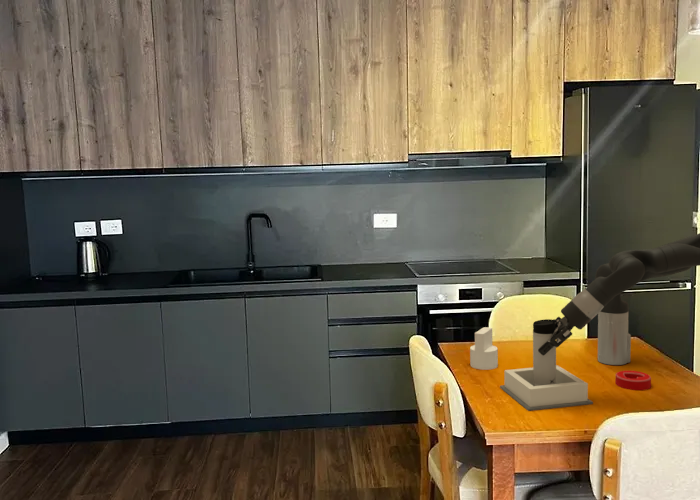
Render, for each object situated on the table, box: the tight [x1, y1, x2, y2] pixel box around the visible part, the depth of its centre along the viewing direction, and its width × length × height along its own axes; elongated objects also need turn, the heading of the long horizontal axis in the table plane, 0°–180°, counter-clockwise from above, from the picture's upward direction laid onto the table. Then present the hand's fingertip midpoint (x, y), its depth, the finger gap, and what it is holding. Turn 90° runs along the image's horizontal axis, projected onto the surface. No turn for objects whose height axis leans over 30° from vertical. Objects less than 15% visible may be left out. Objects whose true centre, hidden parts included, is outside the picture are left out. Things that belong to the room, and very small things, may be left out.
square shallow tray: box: [499, 364, 594, 412], centre depth 180 cm, size 19×19×6 cm
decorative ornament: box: [614, 370, 652, 391], centre depth 186 cm, size 10×10×3 cm
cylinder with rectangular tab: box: [469, 326, 499, 371], centre depth 209 cm, size 9×9×12 cm
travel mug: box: [532, 318, 557, 386], centre depth 179 cm, size 6×7×20 cm
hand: (539, 349), depth 179 cm, fingers closed on travel mug, 6 cm apart
